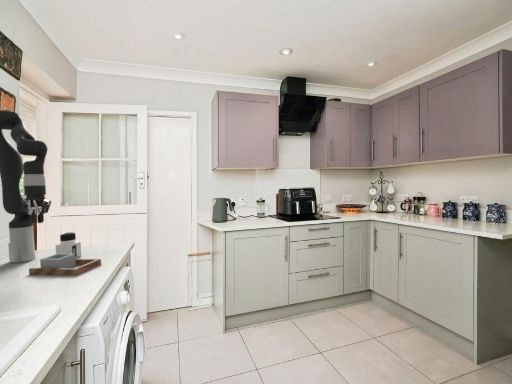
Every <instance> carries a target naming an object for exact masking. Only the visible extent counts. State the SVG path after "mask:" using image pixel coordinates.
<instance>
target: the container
mask: <svg viewBox="0 0 512 384" xmlns="http://www.w3.org/2000/svg"><path fill="white" fill-rule="evenodd" d="M76 238H77V237H76V232H72V231H71V232H70V231H69V232H64V233H61V234H60V235H59V241H60V243H58V244H55V254H75V258H76V259H77V258H79V257H81V256H82V248H81V247H82V246H81V241H76V240H77V239H76Z"/></svg>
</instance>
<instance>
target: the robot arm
mask: <svg viewBox="0 0 512 384" xmlns="http://www.w3.org/2000/svg"><path fill="white" fill-rule="evenodd" d="M3 130H6V131H7V130H8V131H10V137H11V139H12V140H13V142H14V143H15V144H16V147H15V146H14V145H13V144H12V143H11V142H10V141H9V140H8V139H7V137H6V136H5V134H4V132H3ZM48 149H49V148H48V145H47V143H46V142H45V141H42V140H38V139H37V140H36V139H35V137H34V136H33V134H32V133H31V132H30V131H28V129H27V127H26V126H25V124H24V121H23V119H22V118H21V116H20V115H19V114H18V113H17V112H15V111H12V110H3V109H0V183H1V192H2V205H3V206H2V207H3V209H4V211H5V212H6V213H8V214H10V215H14V217H13V218H12V220H10V221H9V222H8V232H9V233H8V234H9V242H8V257H9V263H10V262H11V263H14V264H15V263H17V264H19V263H25V262H29V261H33V260H35V259H36V252H35V251H36V250H35V249H36V248H35V236H34V235H35V234H34V224H36V223H38V224H42V223H44V221H45V219H44V218H45V217H44V215H45V214H47V213H49V211H50V207H51V204H52V201H51V200H47V199H46V197H45V195H46V194H47V188H46V177H45V167H44V166H45V162H46V156H47V154H48ZM23 156H29V157H35V159H34V160H27V161H25V162H24V161H23ZM22 177H23V180H22V181H23V191H24V194H21V190H20V183H21V179H22Z"/></svg>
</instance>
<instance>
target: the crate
mask: <svg viewBox="0 0 512 384" xmlns="http://www.w3.org/2000/svg"><path fill="white" fill-rule="evenodd" d="M76 259H77V257H76V258H75V254H56V253H55V254H52V255H49V256H46V257H43V258H40V259H39V261H40V262H39V263H40V268H75V267H77V265H76Z"/></svg>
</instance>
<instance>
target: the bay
mask: <svg viewBox="0 0 512 384" xmlns="http://www.w3.org/2000/svg"><path fill="white" fill-rule="evenodd" d="M101 265H102V259H101V258H76V266H78V267H76V268H75V267H72V268H41V267H29V268H28V276H29V275H31V276H32V275H33V276H35V275H36V276H78V275H81V274H83V273H85V272H87V271H89V270H92V269H93V268H96V267H98V266H101Z"/></svg>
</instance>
